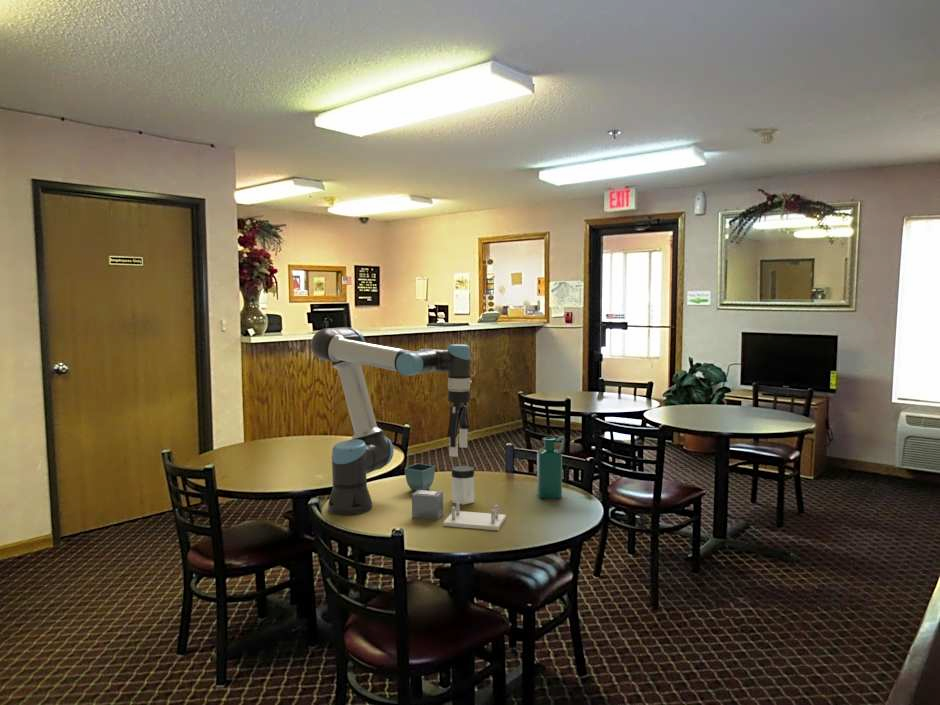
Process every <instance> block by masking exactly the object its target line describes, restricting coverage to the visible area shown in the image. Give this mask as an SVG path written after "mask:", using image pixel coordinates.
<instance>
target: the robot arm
mask: <svg viewBox="0 0 940 705" xmlns="http://www.w3.org/2000/svg"><path fill="white" fill-rule="evenodd" d="M310 347H311V351H312V354H313V355H314V356H315V357H316V358H317V359H319V360H322V361H329V362H331V365H332V367H333V368H334V369H336V370H337V372H338V375H339V379H340V383H341V386H342V390H343V394H344V397H345V398H344V399H345V402H346V406H347V410H348V414H349V416H350V418H349V419H350V421H351V424H352V429H353V435H352V436H351V439H347V440H342V441H339V442H337V443H336V444H334V445H333V447H332V449H331V450H332V451H331V468H332V488H331V489H332V490H331V492H330V496H329V499H328V502H327V508H328V512H329V513H330V514H332V515H336V516H354V515H360V514H365V513H367V512H369V511H370V510H372V508H373V500H372V497H371V494H370V492H369V488H368V487H367V485H368V484H367V479H368V478H367V474H370V473H372V472H376V471H378V470H381V469H384V467H386V466H387V465H389V464H390V462H391V461H392V459H393V457H394V446H393V443H392V441H391V439H390V438H388V437H387V436H386V435H384V431H383V429H382V428H380V427H378V424H377V421H376V420H377V419H376V417H375V414H374V410H373V405H372V402H371V398H370V394H369V390H368V387H367V382H366V379H365V375H364V371H363V367H362V365H364V366H369V367H373V368H380V369H384V370H389V371H395V372H398V373H400V374H401V375H403V376H410V377H411V376H416V375H421V374H425V373H430V372H444V373H445V372H446V373H447V389H448V391H447V401H448V402H449V403H453V405H452V406H450V408H449V411H450V412H449V422H448V428H447V434H446V438H449V439H448V440H449V443H448V445H449V446H448V447H449V448H448V450H449V452H448V453H449V454H448V456H449V457H459V456H458V455H459V452H458V451H459V448H464V449H467V448H468V430H469V429H470V428H471V425H470V422H469V412H468V403H469V402H470V401H471V390H470V388H471V384H472V383H473V382H472V380H471V359H472V357H471V347H470V345H468V344H463V343H462V344H461V343H460V344H459V343H453V344H448V347H447V349H436V348H435V349H434V348H421V349H419V350H417V351H415V350H408V349H404V348H403V349H402V348H397V347H392V346H386V345H380V344H375V343H370V342H366V340H365V337H364V335H363V333H362V332H361V331H360V330H358V329H357V328H354V327H348V326H343V327H342V326H341V327H331V328H330V327H326V328H322V329H320V330H318V331H317V332H315V333H314V335H313V336H312V338H311V342H310ZM459 427H460V428H459ZM458 432H459V436H458Z"/></svg>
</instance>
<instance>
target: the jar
mask: <svg viewBox="0 0 940 705" xmlns="http://www.w3.org/2000/svg"><path fill="white" fill-rule="evenodd" d="M451 500H452V504H456V502H459V503H460V505H464V506H465V505H468V504H472V503H473V504H474V503H475V468H474V467H472V466H470V465H469V466H468V465H457V466H454V467H451Z"/></svg>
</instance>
